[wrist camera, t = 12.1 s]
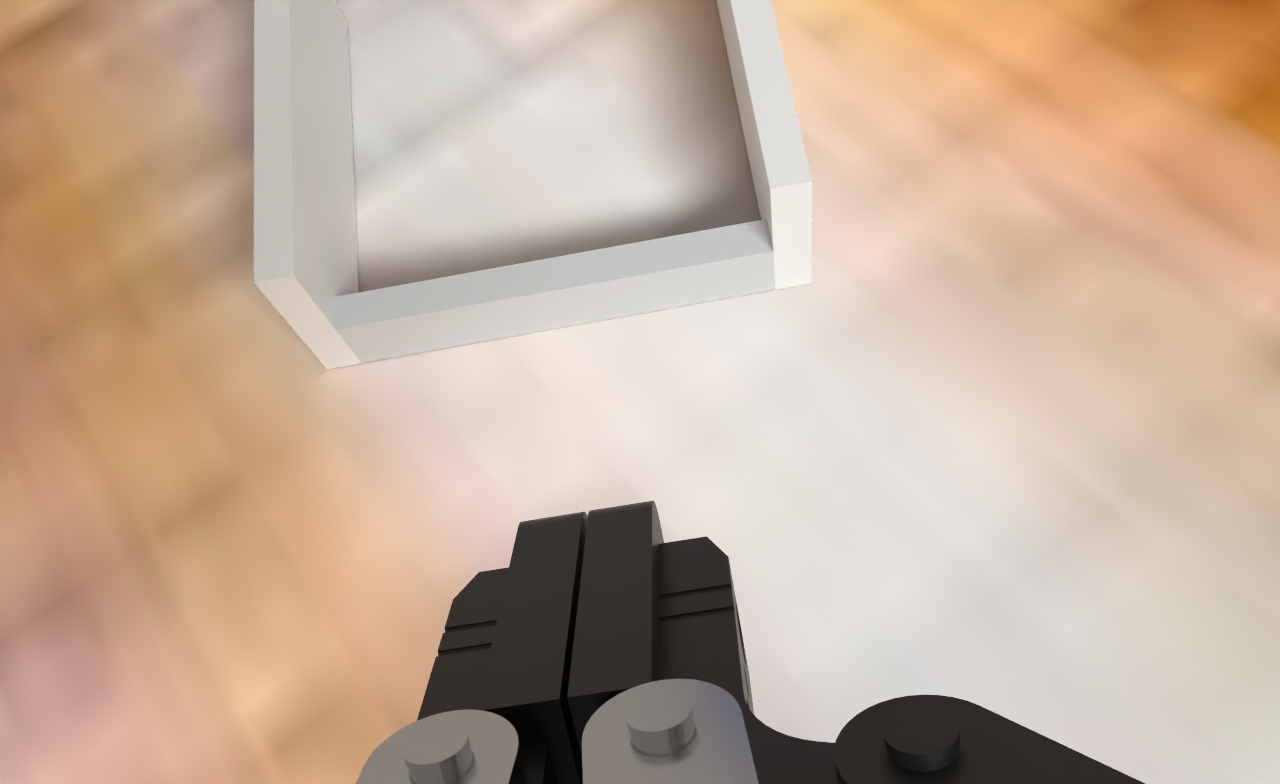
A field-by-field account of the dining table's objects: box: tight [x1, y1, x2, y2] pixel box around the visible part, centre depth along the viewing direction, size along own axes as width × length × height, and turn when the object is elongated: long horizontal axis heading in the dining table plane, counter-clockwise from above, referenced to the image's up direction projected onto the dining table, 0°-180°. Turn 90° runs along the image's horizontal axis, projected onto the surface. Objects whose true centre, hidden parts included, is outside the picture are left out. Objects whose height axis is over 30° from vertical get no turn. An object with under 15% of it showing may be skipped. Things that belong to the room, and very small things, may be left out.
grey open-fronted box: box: [254, 0, 812, 369], centre depth 41 cm, size 16×15×6 cm
